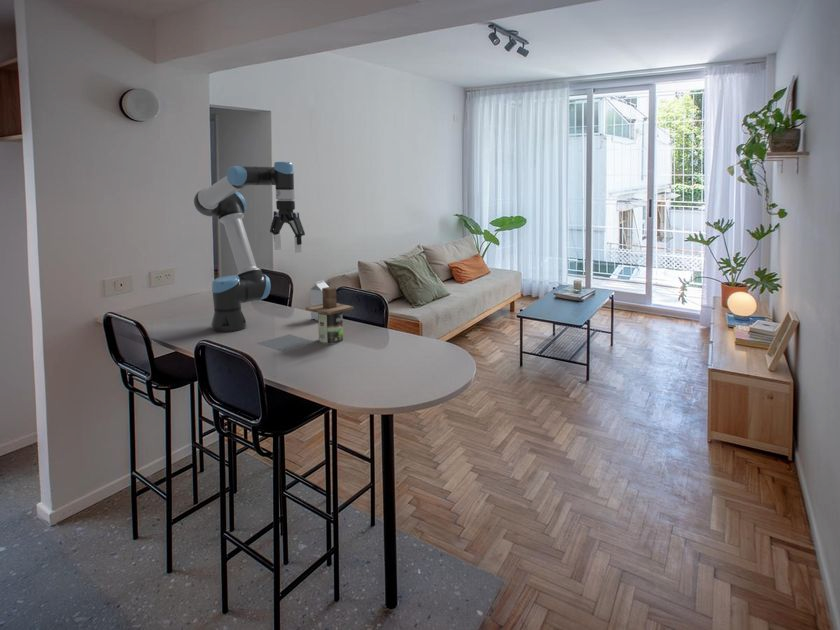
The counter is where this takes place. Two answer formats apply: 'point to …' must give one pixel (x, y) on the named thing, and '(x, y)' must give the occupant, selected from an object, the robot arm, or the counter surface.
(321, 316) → the coffee can
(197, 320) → the counter surface
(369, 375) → the counter surface
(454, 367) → the counter surface
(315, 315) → the milk carton
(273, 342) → the mat
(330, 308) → the wooden peg stand
